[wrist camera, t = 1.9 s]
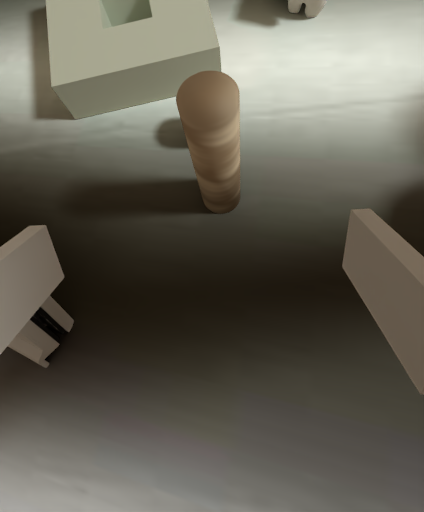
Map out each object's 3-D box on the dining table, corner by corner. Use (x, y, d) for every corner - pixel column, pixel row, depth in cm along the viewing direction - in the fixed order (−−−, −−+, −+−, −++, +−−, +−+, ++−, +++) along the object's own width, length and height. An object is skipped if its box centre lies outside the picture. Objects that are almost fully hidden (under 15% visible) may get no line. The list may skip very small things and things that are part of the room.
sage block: (195, -21, 42) (189, -68, 37) (222, 85, 37) (219, 46, 32) (66, 11, 43) (43, -32, 38) (75, 119, 38) (51, 86, 33)
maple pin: (235, 175, 34) (231, 64, 20) (244, 208, 32) (245, 114, 19) (199, 183, 34) (171, 78, 20) (206, 217, 33) (181, 129, 19)
